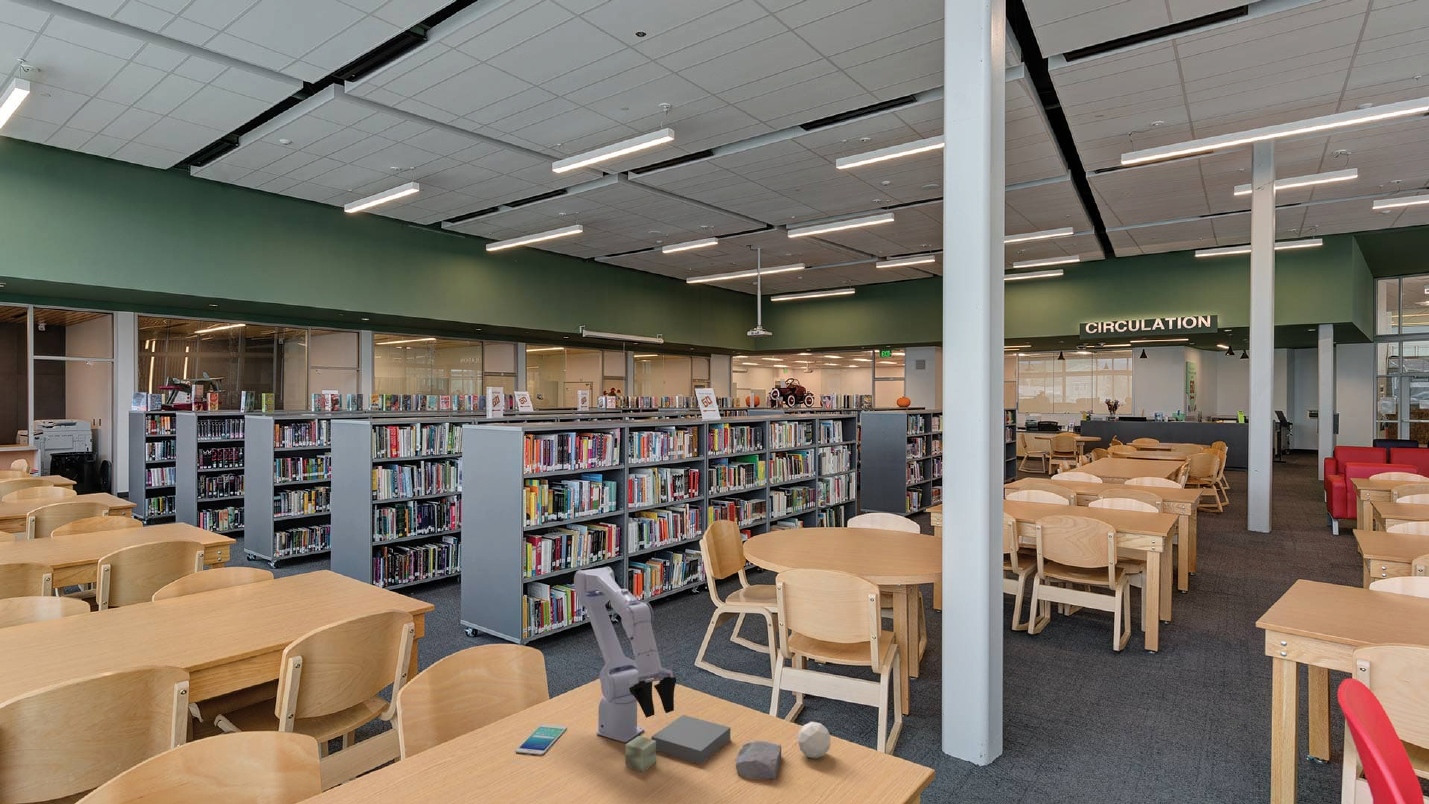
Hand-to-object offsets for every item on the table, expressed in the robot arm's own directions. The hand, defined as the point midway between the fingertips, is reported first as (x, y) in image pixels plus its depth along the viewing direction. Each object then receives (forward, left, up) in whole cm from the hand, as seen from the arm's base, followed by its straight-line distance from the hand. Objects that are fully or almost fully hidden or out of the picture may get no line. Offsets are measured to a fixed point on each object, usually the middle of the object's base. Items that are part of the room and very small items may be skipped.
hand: (660, 714), depth 163 cm
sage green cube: (-4, -2, -12) cm, 13 cm away
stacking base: (+1, +12, -12) cm, 17 cm away
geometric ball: (+29, +22, -12) cm, 38 cm away
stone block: (+19, +11, -12) cm, 26 cm away
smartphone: (-32, -5, -12) cm, 35 cm away
